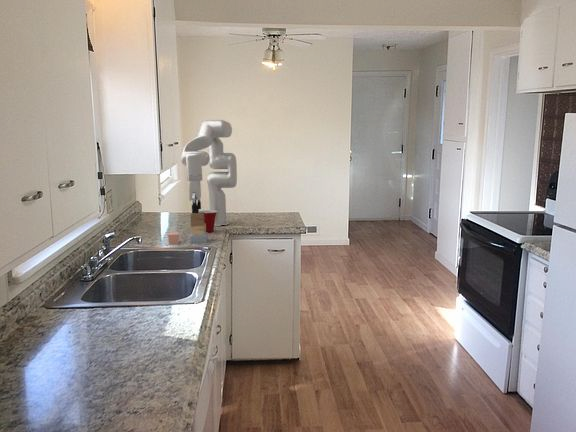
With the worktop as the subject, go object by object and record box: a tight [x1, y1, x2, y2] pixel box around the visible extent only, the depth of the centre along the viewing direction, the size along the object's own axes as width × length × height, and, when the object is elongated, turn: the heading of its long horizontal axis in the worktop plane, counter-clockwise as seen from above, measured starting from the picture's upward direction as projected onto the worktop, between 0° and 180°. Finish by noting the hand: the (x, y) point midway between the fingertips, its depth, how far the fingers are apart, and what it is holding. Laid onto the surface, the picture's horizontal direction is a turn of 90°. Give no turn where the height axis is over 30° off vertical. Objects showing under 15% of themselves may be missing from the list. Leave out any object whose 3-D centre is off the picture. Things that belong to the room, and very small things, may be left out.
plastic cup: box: [199, 209, 217, 234], centre depth 278 cm, size 11×11×12 cm
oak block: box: [191, 223, 206, 235], centre depth 256 cm, size 6×6×5 cm
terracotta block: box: [167, 231, 180, 245], centre depth 253 cm, size 5×5×5 cm
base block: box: [189, 232, 209, 244], centre depth 257 cm, size 8×8×4 cm
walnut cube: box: [190, 212, 205, 227], centre depth 255 cm, size 6×6×6 cm
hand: (196, 211), depth 254 cm, fingers open, 9 cm apart
